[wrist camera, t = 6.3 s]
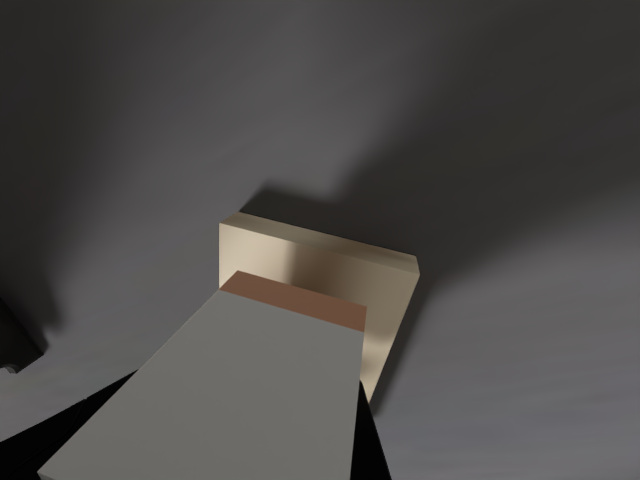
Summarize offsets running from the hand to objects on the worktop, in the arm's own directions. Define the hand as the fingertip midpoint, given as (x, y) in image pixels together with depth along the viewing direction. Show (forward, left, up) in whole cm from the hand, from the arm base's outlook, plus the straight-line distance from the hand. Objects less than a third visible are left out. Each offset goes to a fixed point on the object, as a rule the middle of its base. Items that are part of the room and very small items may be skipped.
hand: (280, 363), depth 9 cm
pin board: (0, +3, -4) cm, 5 cm away
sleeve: (0, 0, -1) cm, 1 cm away
